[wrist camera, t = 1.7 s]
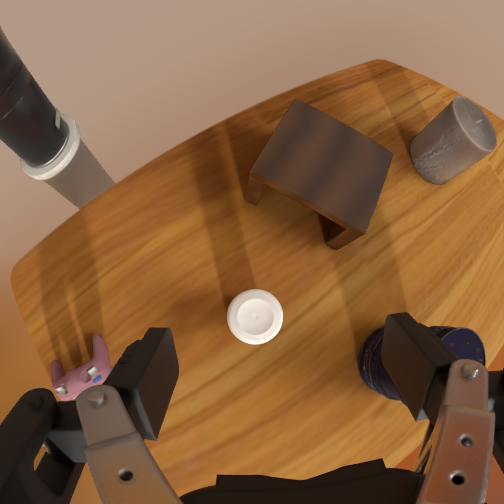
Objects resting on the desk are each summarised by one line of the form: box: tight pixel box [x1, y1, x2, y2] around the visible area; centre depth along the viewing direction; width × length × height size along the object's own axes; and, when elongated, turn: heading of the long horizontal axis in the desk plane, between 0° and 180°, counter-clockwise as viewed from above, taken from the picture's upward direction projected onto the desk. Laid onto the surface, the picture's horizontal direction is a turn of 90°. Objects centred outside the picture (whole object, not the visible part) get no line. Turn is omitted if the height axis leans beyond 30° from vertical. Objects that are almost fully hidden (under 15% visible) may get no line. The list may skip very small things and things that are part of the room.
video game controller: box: [51, 334, 112, 401], centre depth 31 cm, size 10×5×7 cm, turn 122°
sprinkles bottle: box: [227, 289, 283, 344], centre depth 30 cm, size 5×5×14 cm
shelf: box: [245, 99, 393, 250], centre depth 36 cm, size 14×12×9 cm
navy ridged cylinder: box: [358, 326, 486, 406], centre depth 30 cm, size 10×10×15 cm
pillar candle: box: [410, 96, 497, 185], centre depth 37 cm, size 10×10×15 cm
